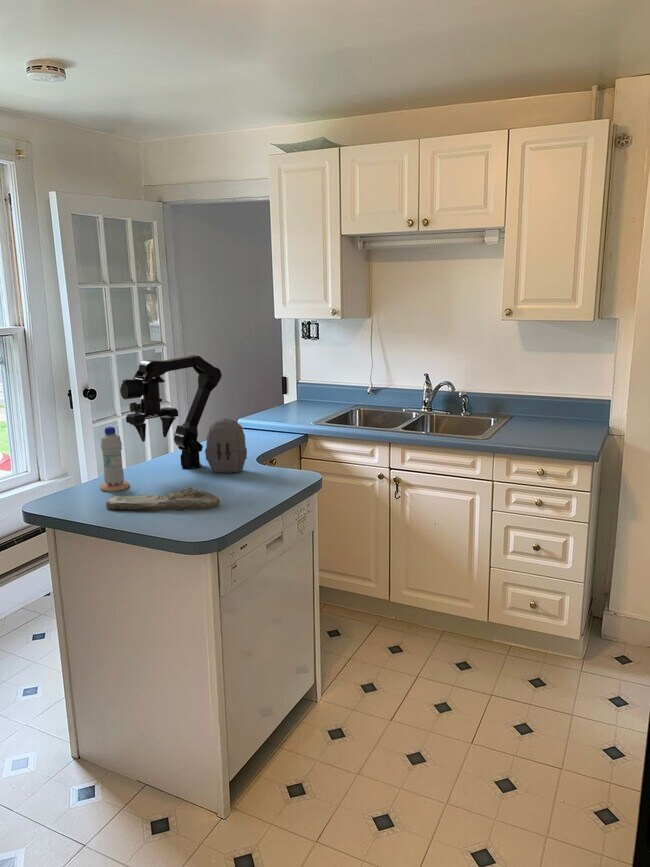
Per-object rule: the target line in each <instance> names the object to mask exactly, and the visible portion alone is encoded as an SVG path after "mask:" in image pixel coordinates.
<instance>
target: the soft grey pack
mask: <svg viewBox="0 0 650 867" xmlns="http://www.w3.org/2000/svg"><path fill="white" fill-rule="evenodd" d="M205 444H206V447H205V449H204V453H205V460H206V461H207V463H208V465H209V467H210V470H211V471H212V472H216V473H226V474H227V473H228V474H230V473H232V474H233V473H237V472H242V471H243V469H244V466H245V463H246V460H247V458H248V454H247V453H248V450H247V446H246V445H247V444H246V435H245V432H244V429H243V427H242V425H241V424H239V423H238V422H237V420H234V419H230V418H225V417H224V418H220V419H216V420H215V421H214V422H212V424H210V425H209V428H208V432H207V436H206V443H205Z"/></svg>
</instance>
